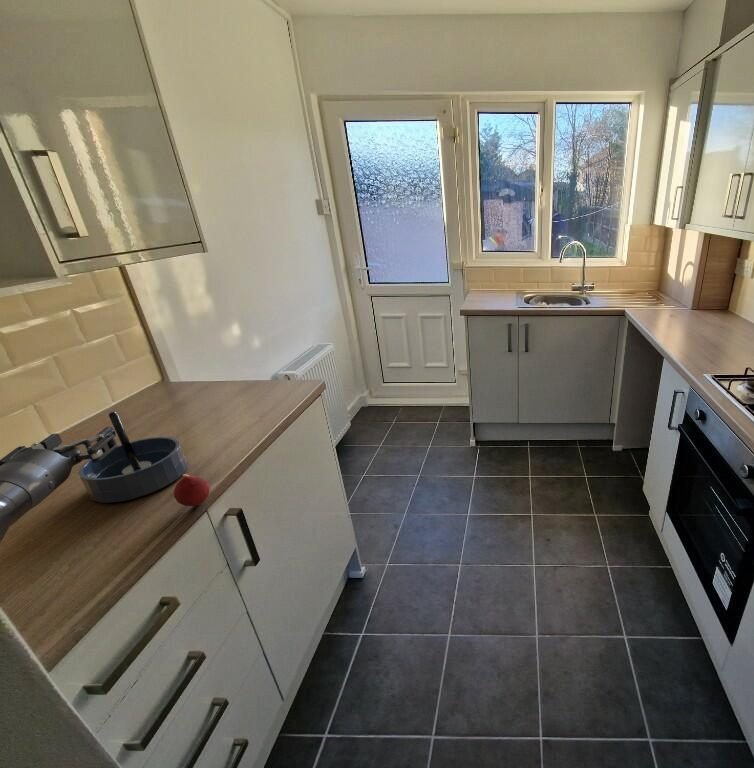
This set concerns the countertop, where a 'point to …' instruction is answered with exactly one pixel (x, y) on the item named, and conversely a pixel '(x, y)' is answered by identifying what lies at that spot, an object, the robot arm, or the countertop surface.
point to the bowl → (115, 487)
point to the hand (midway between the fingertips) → (85, 434)
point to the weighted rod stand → (127, 446)
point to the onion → (191, 490)
